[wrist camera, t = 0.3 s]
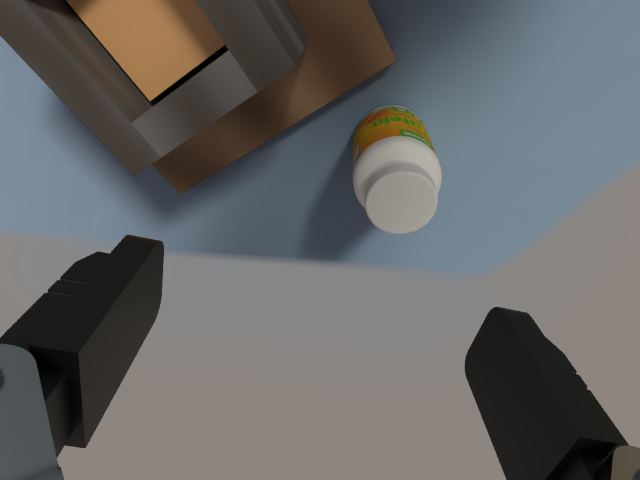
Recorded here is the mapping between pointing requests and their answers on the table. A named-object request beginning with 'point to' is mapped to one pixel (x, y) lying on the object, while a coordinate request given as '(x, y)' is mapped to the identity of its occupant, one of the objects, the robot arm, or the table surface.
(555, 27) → the table surface
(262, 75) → the collar block
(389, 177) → the supplement bottle
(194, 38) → the press seat
